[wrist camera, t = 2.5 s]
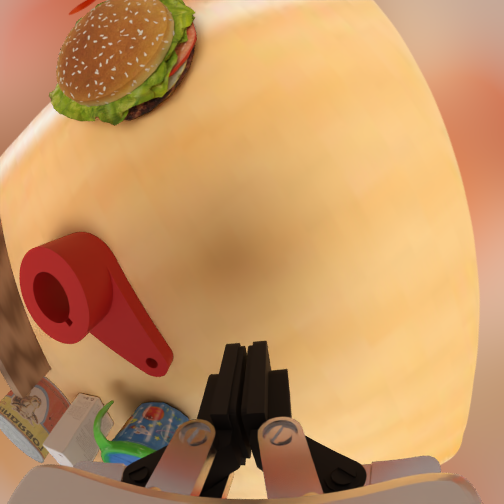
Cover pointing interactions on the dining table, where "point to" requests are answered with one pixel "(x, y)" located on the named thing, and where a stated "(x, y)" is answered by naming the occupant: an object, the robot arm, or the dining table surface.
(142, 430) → the snack cup
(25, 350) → the walnut board
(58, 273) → the lever
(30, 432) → the canned food
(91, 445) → the skincare box
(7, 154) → the dining table surface
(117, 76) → the food
